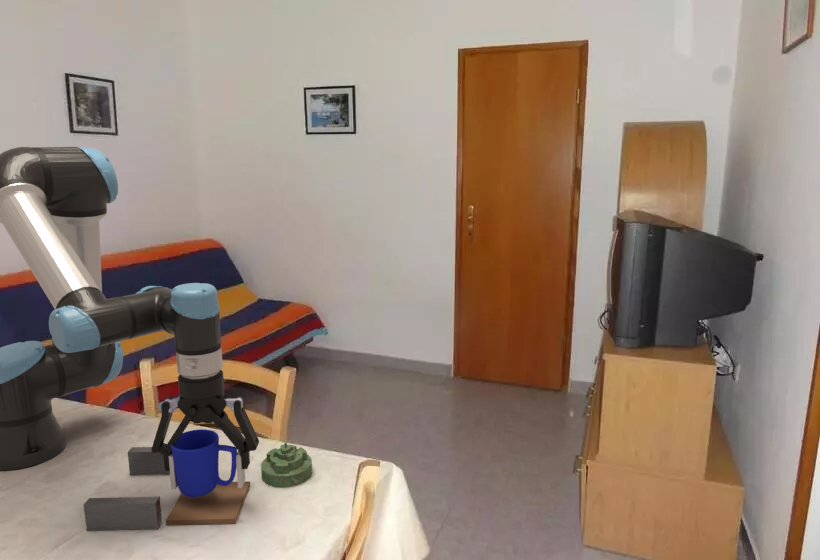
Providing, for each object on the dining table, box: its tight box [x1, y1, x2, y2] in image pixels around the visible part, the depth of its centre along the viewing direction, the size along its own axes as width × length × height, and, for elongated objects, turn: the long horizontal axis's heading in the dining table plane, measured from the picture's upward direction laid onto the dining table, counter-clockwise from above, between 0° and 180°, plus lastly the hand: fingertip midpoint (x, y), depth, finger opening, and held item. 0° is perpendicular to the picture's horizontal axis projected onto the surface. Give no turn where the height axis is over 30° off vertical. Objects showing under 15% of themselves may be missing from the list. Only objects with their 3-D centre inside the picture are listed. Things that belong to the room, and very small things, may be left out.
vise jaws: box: [83, 446, 170, 532], centre depth 113 cm, size 23×12×5 cm, turn 3°
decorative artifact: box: [260, 441, 313, 489], centre depth 120 cm, size 10×7×10 cm
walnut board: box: [165, 480, 251, 526], centre depth 110 cm, size 12×12×1 cm
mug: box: [171, 428, 238, 497], centre depth 108 cm, size 8×12×10 cm
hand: (209, 484), depth 109 cm, fingers closed on mug, 11 cm apart
